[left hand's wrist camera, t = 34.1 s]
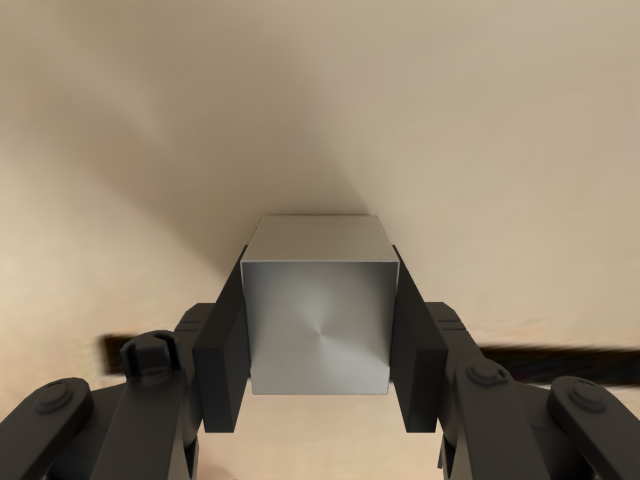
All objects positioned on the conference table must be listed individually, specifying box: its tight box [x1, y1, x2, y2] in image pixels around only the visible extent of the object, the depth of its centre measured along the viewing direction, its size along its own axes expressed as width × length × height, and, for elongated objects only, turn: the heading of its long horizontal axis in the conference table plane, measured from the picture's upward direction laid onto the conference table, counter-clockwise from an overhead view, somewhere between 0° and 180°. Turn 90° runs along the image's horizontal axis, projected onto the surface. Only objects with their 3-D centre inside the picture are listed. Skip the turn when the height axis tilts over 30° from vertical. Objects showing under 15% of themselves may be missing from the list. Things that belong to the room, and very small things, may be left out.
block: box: [240, 215, 400, 395], centre depth 13 cm, size 5×5×4 cm
